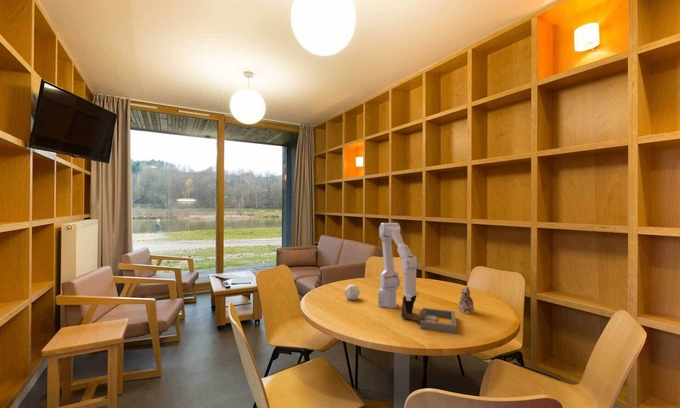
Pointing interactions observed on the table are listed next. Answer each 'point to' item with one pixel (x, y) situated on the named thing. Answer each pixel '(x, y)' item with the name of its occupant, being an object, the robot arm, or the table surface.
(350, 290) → the die
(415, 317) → the scraper
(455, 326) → the grey flat u-shaped piece
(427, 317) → the tile slate
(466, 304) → the figurine
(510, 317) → the table surface
